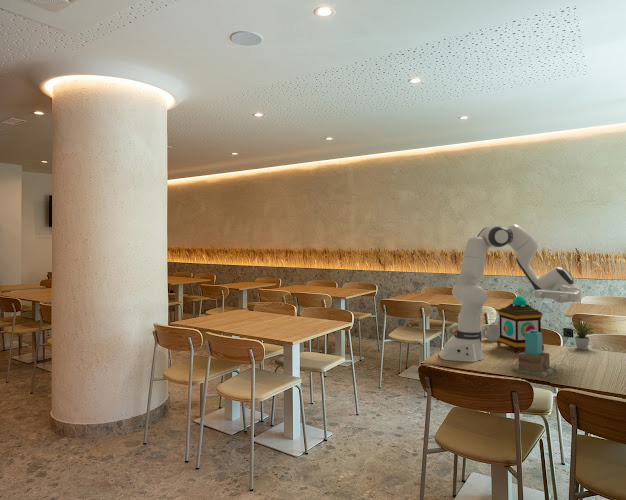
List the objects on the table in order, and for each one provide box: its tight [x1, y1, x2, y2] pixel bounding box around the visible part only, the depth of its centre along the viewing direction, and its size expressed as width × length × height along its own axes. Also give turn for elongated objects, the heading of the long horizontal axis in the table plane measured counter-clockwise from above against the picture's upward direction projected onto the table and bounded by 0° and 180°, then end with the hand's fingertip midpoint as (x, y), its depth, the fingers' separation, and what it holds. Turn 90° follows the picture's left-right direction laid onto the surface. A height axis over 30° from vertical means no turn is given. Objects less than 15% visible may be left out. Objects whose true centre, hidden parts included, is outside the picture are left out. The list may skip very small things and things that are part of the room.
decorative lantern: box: [496, 295, 545, 354], centre depth 250 cm, size 20×20×30 cm
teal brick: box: [524, 330, 543, 356], centre depth 209 cm, size 6×6×11 cm
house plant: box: [571, 319, 599, 350], centre depth 247 cm, size 14×14×16 cm
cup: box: [481, 324, 500, 343], centre depth 272 cm, size 7×10×9 cm
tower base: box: [511, 350, 557, 378], centre depth 210 cm, size 14×14×8 cm
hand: (550, 296), depth 215 cm, fingers open, 8 cm apart
